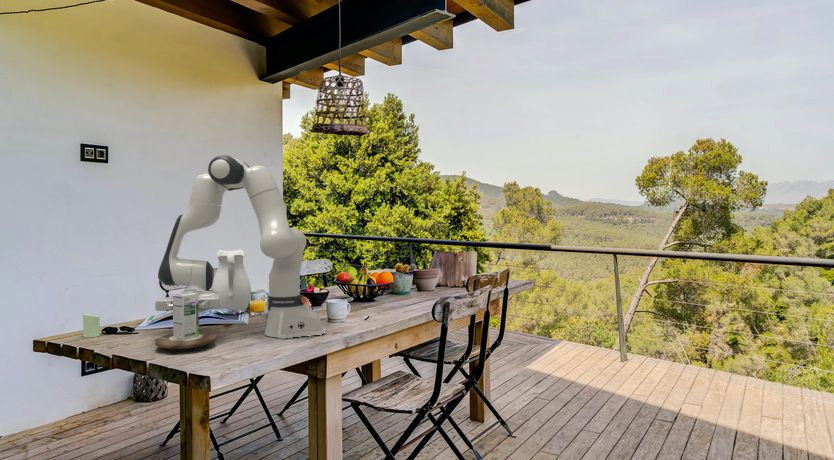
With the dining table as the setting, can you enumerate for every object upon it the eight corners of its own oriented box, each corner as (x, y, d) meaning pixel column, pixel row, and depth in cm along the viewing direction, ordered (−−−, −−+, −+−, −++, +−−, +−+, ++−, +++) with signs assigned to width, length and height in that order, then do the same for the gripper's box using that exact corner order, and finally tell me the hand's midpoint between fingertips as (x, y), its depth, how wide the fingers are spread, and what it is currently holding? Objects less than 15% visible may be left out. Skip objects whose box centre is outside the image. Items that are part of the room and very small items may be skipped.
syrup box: (183, 339, 162) (183, 295, 162) (172, 337, 166) (172, 293, 165) (199, 336, 167) (199, 292, 167) (188, 334, 170) (188, 291, 170)
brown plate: (219, 333, 177) (219, 329, 177) (210, 346, 160) (210, 342, 160) (163, 336, 173) (163, 332, 173) (148, 349, 156) (148, 345, 156)
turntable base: (205, 342, 172) (205, 337, 172) (199, 350, 163) (199, 345, 163) (173, 344, 170) (173, 339, 170) (165, 352, 160) (165, 346, 160)
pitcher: (212, 310, 231) (212, 249, 231) (251, 308, 236) (251, 249, 236) (207, 320, 209) (207, 253, 208) (250, 318, 214) (250, 252, 213)
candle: (95, 333, 184) (95, 311, 184) (102, 335, 181) (102, 313, 181) (80, 336, 180) (80, 313, 180) (87, 338, 177) (87, 315, 177)
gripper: (158, 292, 176) (150, 298, 163) (221, 290, 182) (218, 296, 169) (159, 310, 176) (150, 318, 163) (221, 307, 182) (218, 315, 169)
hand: (185, 307), depth 166 cm, fingers open, 8 cm apart
